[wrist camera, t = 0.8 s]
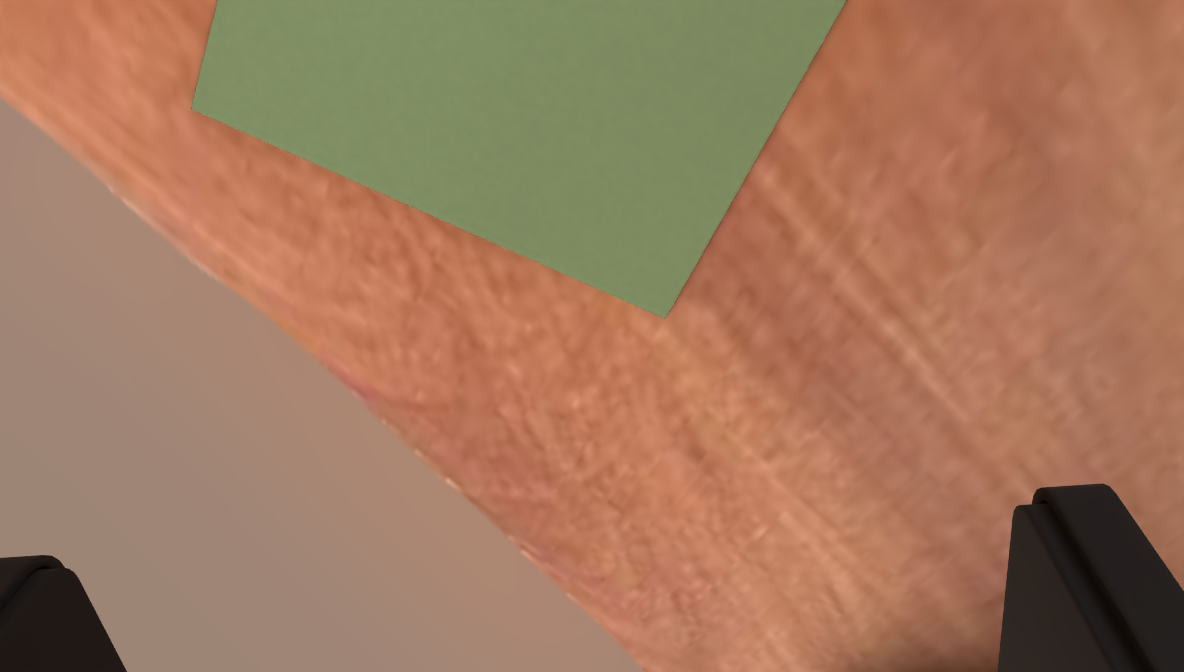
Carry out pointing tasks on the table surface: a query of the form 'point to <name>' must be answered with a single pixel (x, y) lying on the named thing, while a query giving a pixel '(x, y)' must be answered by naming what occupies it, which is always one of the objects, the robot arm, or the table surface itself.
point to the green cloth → (527, 114)
